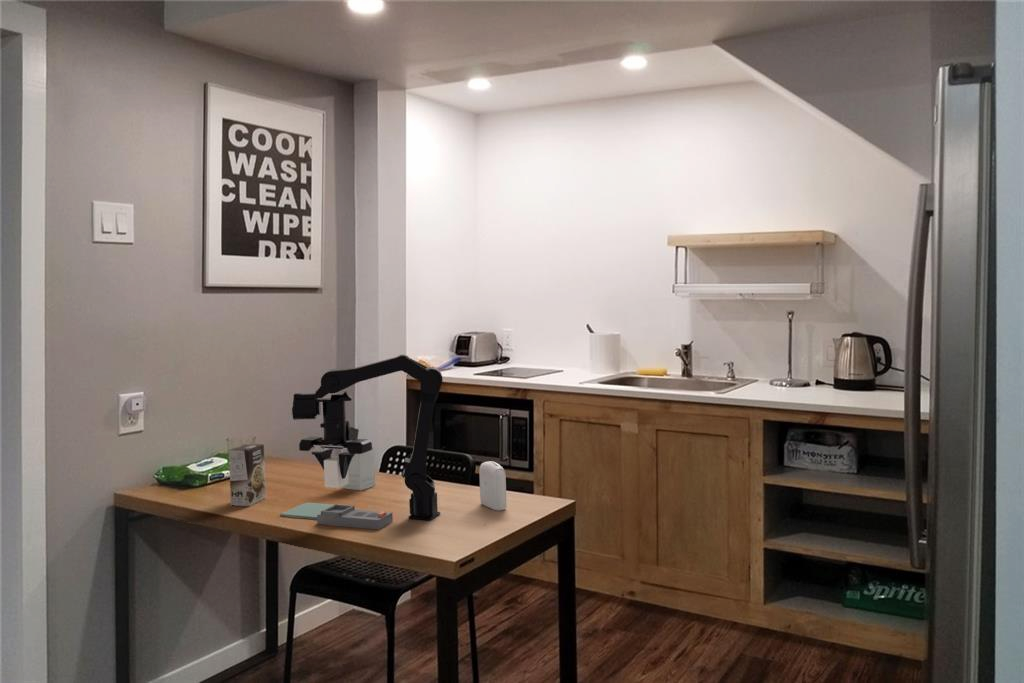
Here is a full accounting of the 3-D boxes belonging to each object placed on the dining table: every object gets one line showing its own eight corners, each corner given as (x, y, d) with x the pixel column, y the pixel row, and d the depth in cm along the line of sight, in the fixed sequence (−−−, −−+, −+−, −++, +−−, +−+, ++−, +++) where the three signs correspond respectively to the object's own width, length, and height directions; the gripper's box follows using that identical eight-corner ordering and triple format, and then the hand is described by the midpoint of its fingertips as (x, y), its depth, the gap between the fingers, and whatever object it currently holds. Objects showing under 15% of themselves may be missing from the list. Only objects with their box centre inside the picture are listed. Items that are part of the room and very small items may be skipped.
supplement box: (376, 485, 248) (375, 445, 247) (360, 491, 241) (358, 449, 241) (358, 483, 251) (356, 443, 251) (341, 488, 245) (340, 447, 244)
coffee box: (251, 506, 226) (248, 450, 225) (230, 506, 228) (227, 449, 227) (267, 498, 235) (264, 443, 234) (247, 497, 237) (244, 443, 236)
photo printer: (478, 503, 224) (477, 459, 223) (492, 501, 226) (491, 457, 225) (494, 512, 215) (493, 466, 214) (508, 509, 217) (507, 464, 216)
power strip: (392, 521, 208) (392, 508, 208) (378, 529, 202) (378, 516, 201) (332, 516, 214) (332, 503, 214) (317, 523, 208) (316, 510, 208)
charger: (348, 483, 211) (347, 456, 210) (338, 488, 206) (337, 460, 206) (335, 482, 212) (334, 455, 212) (324, 487, 207) (323, 459, 207)
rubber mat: (343, 507, 223) (343, 505, 223) (318, 519, 212) (318, 517, 212) (306, 504, 227) (306, 502, 227) (280, 516, 216) (280, 513, 216)
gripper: (381, 414, 212) (383, 473, 213) (320, 412, 219) (323, 469, 220) (359, 421, 202) (361, 482, 203) (296, 419, 208) (299, 478, 209)
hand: (336, 477), depth 209 cm, fingers closed on charger, 4 cm apart
